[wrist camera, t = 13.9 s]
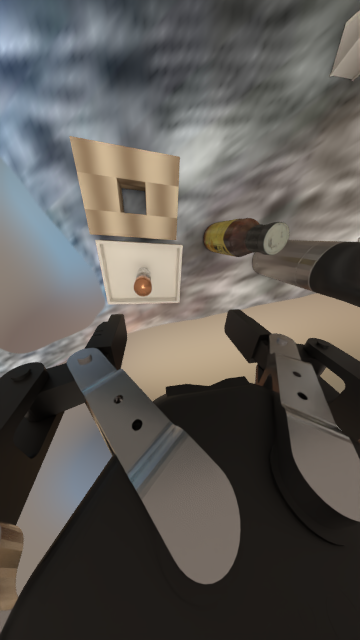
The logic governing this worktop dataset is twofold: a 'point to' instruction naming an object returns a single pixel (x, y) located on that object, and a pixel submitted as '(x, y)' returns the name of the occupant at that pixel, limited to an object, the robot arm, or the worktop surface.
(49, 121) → the worktop surface
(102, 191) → the block
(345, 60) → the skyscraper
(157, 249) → the tray
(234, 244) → the sauce bottle
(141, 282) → the copper and grey cylinder
